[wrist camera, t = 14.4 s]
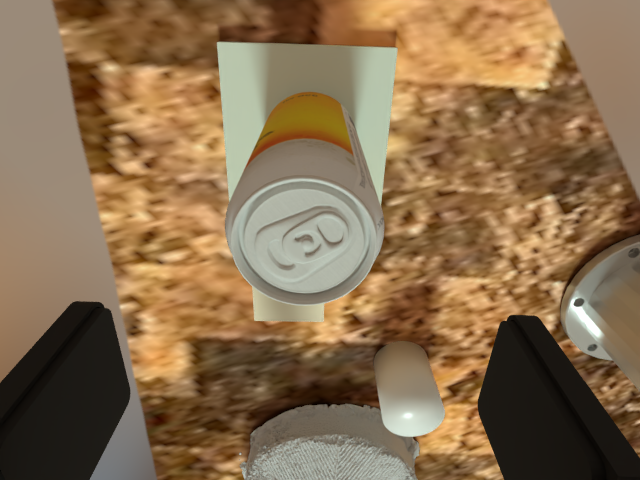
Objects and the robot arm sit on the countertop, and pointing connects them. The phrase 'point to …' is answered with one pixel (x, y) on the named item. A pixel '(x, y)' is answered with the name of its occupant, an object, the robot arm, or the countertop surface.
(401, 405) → the white capsule
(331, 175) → the beer can
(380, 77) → the sage mat
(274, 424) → the food container
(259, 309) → the maple block
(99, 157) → the countertop surface
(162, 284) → the countertop surface
